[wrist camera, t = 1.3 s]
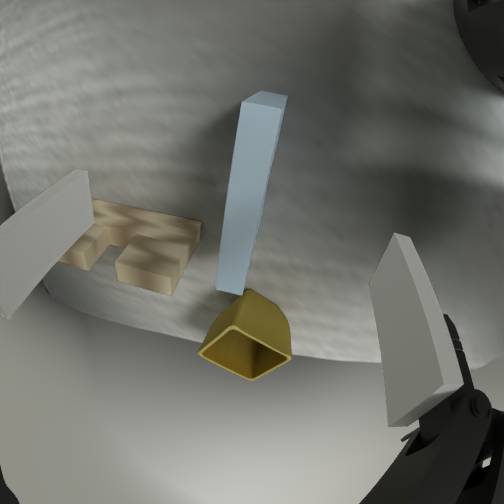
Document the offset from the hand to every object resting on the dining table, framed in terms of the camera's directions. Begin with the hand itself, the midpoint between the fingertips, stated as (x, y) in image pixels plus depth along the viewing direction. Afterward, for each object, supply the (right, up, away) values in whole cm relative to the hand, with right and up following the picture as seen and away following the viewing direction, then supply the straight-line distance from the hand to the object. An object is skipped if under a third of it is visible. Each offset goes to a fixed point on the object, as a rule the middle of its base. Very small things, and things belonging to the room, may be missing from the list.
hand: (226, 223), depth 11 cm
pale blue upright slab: (+2, +7, +17) cm, 19 cm away
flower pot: (+1, -9, +30) cm, 31 cm away
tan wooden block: (-13, +3, +23) cm, 27 cm away
